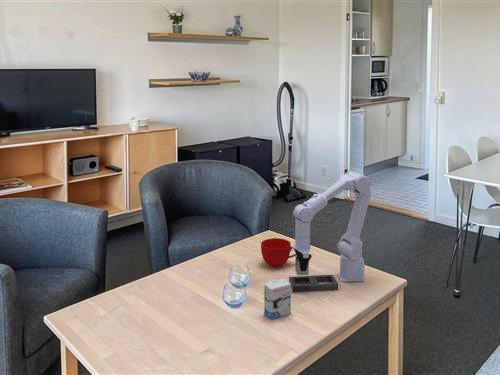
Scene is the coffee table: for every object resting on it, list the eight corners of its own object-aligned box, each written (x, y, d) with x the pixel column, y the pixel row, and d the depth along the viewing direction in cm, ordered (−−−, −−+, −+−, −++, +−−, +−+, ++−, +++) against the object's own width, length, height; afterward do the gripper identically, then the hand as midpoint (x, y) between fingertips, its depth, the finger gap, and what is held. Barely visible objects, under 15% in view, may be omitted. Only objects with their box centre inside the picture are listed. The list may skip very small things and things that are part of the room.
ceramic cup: (300, 270, 214) (301, 248, 211) (261, 271, 214) (260, 249, 212) (298, 258, 227) (298, 237, 224) (260, 258, 227) (260, 238, 224)
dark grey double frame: (332, 280, 205) (332, 274, 204) (338, 290, 196) (338, 284, 196) (288, 282, 204) (289, 276, 203) (292, 292, 195) (292, 286, 194)
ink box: (270, 319, 175) (270, 289, 172) (263, 313, 180) (263, 283, 177) (291, 313, 179) (291, 283, 176) (284, 307, 183) (284, 278, 180)
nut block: (306, 270, 200) (306, 255, 199) (308, 274, 196) (308, 260, 194) (295, 270, 200) (295, 256, 198) (297, 275, 196) (297, 260, 194)
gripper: (289, 229, 201) (289, 261, 204) (295, 242, 187) (295, 276, 190) (306, 228, 201) (306, 260, 205) (314, 242, 187) (313, 275, 191)
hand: (302, 268), depth 198 cm, fingers closed on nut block, 4 cm apart
